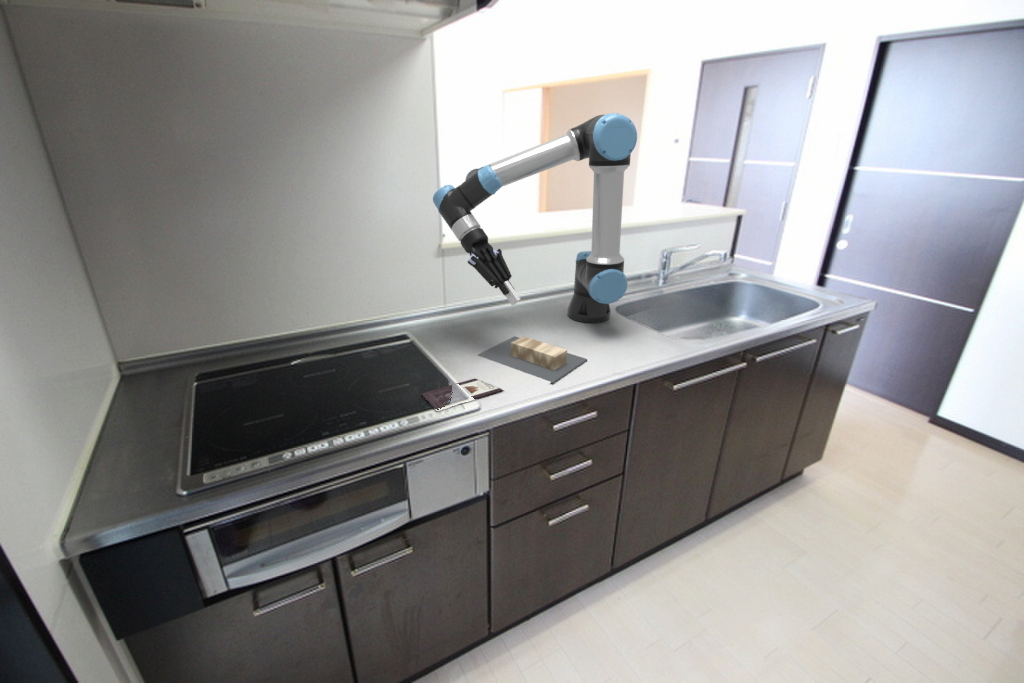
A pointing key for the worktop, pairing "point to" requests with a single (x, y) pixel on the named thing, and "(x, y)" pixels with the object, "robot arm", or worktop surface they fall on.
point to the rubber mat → (503, 356)
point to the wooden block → (539, 353)
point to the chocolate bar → (472, 387)
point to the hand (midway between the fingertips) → (516, 302)
